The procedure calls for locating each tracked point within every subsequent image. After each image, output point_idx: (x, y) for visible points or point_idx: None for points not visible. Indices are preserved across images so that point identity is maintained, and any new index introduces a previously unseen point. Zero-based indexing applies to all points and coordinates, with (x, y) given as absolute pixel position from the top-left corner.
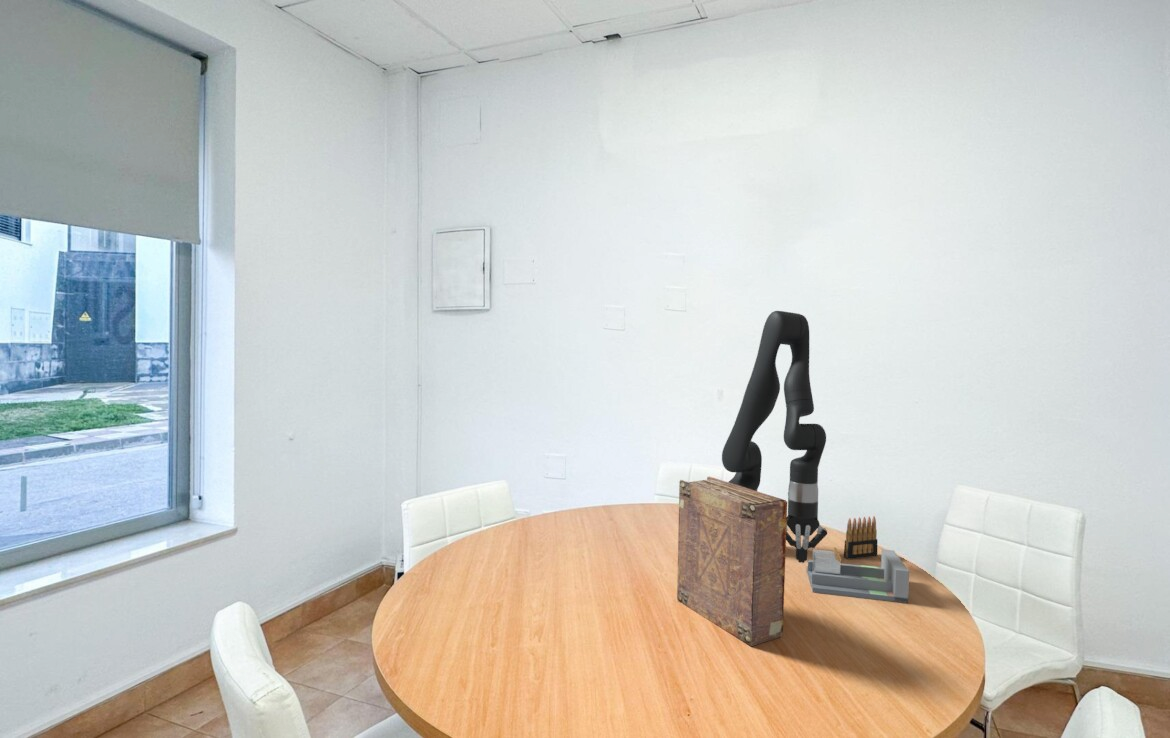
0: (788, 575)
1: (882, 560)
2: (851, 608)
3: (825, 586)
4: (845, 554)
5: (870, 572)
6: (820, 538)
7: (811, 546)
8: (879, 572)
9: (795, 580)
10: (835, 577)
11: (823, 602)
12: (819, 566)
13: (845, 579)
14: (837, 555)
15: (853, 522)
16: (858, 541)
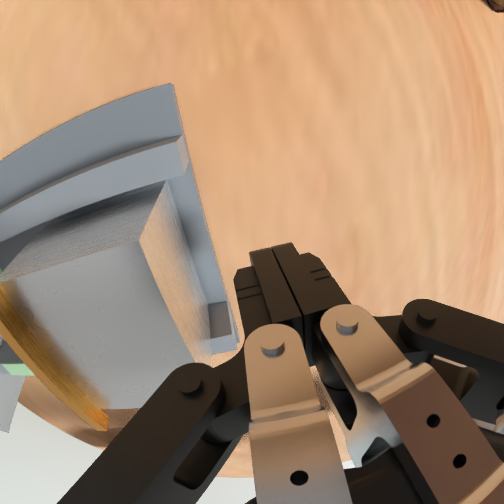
0: (307, 243)
1: (4, 397)
2: (19, 35)
3: (108, 141)
4: None
5: None
6: (102, 483)
7: (204, 374)
8: (3, 354)
9: (273, 199)
10: (45, 189)
11: (119, 4)
12: (124, 216)
13: (12, 206)
14: (12, 337)
15: None
16: None
